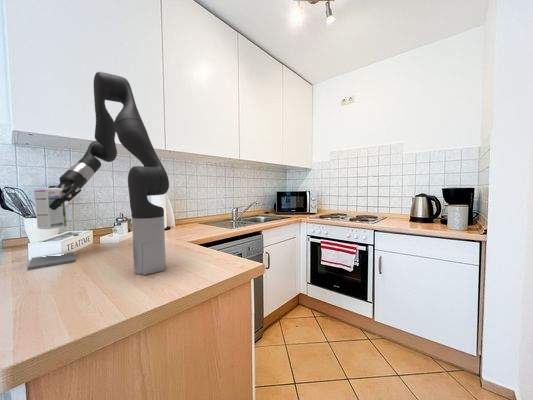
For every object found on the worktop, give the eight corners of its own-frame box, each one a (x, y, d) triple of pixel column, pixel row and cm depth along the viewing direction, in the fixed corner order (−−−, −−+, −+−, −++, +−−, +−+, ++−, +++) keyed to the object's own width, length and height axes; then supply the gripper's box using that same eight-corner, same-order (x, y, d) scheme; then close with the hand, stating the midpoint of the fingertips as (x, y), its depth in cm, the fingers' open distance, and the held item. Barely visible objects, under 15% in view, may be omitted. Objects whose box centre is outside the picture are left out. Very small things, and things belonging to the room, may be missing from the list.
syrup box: (49, 229, 80) (46, 187, 79) (36, 228, 81) (33, 188, 80) (66, 226, 85) (64, 187, 85) (54, 226, 87) (51, 188, 86)
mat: (75, 262, 82) (75, 259, 82) (27, 270, 74) (27, 267, 74) (74, 254, 93) (74, 251, 93) (32, 260, 85) (32, 257, 85)
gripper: (56, 169, 91) (20, 201, 80) (84, 168, 87) (51, 201, 77) (71, 183, 96) (39, 214, 85) (98, 182, 93) (69, 215, 82)
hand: (45, 208), depth 81 cm, fingers closed on syrup box, 6 cm apart
